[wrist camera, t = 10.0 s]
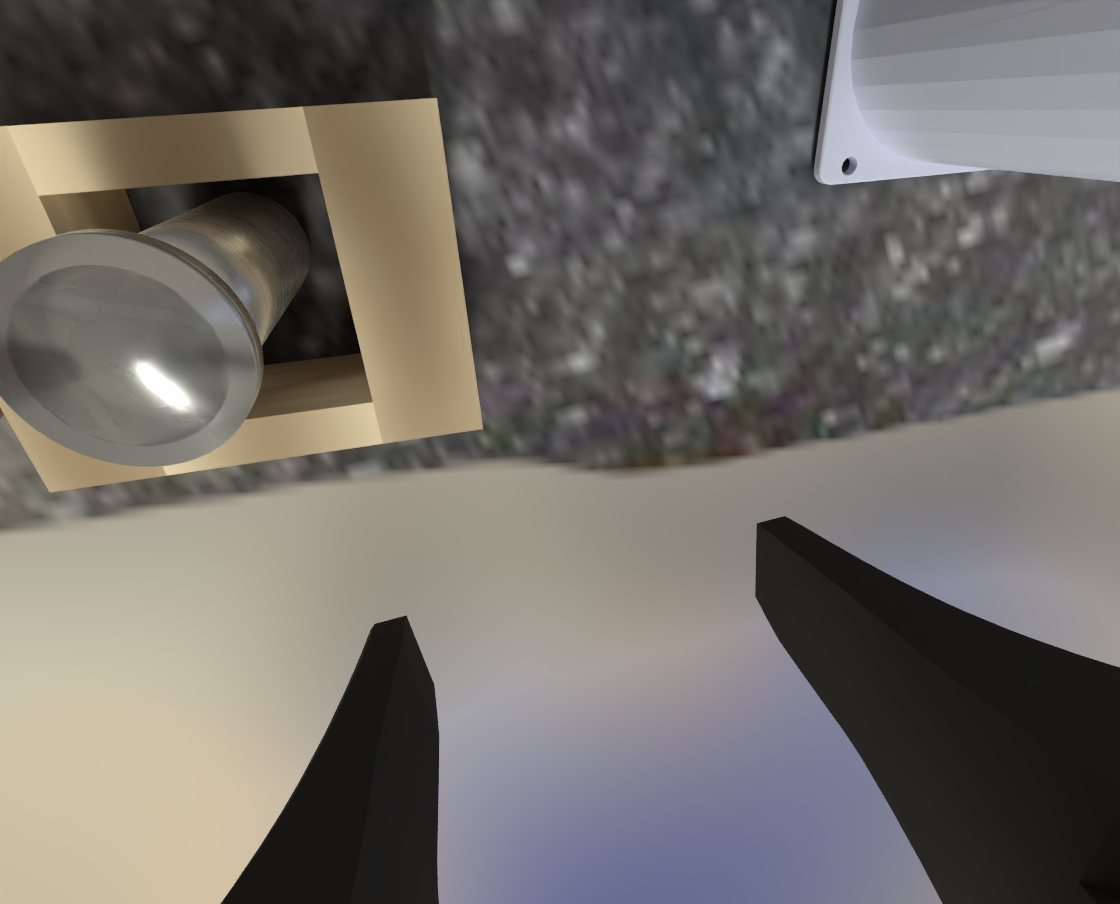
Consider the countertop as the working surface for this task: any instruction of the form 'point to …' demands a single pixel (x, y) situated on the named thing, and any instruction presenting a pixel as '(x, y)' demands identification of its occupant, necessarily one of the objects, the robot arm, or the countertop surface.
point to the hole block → (361, 241)
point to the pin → (148, 329)
